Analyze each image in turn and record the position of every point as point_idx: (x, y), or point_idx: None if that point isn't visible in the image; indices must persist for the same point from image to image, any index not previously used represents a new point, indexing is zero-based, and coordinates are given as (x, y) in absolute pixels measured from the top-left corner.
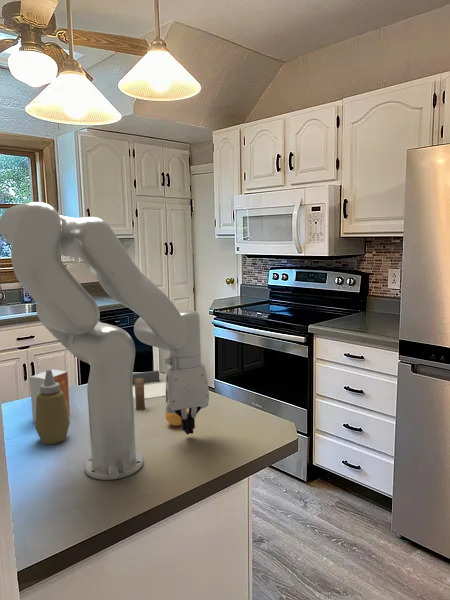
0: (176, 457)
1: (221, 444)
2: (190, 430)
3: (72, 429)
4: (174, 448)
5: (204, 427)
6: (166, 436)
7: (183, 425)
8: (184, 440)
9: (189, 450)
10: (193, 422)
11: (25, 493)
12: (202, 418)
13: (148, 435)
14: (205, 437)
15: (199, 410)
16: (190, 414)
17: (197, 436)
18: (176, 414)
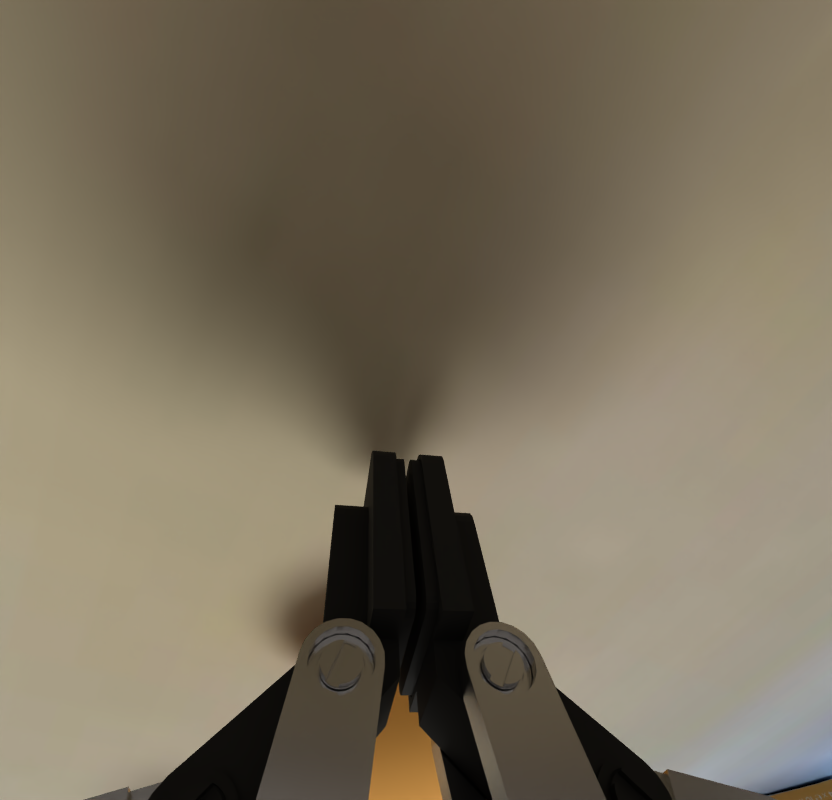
0: (729, 151)
1: (102, 151)
2: (405, 478)
3: (808, 738)
4: (603, 352)
5: (186, 555)
6: (520, 547)
7: (480, 556)
8: (442, 440)
9: (518, 231)
10: (346, 563)
11: None
12: (158, 657)
13: (604, 597)
14: (239, 405)
15: (197, 751)
16: (385, 695)
17: (304, 453)
18: (403, 732)
